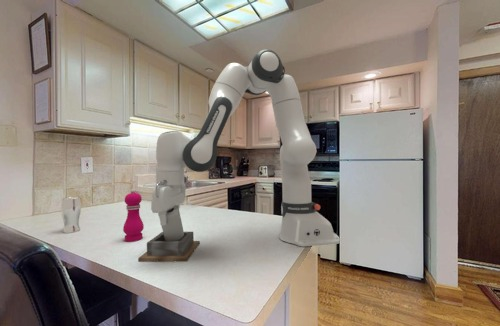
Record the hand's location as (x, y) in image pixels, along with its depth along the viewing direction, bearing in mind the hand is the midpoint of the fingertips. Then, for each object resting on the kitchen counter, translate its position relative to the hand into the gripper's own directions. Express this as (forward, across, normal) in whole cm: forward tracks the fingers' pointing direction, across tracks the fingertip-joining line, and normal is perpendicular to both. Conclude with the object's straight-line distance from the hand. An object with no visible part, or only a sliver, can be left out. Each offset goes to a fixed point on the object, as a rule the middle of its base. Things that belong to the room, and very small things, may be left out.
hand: (169, 220), depth 74 cm
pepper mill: (+11, +14, +20) cm, 27 cm away
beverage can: (+7, +3, -1) cm, 7 cm away
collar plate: (+10, +1, 0) cm, 11 cm away
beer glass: (+12, +25, +55) cm, 61 cm away
